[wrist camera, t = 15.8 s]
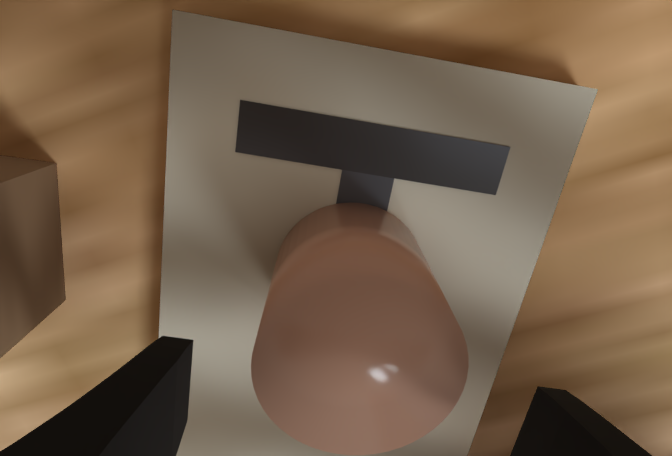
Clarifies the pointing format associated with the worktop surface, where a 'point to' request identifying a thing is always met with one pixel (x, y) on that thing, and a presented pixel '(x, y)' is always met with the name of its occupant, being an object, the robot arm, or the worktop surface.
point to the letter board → (346, 198)
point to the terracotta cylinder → (356, 336)
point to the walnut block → (28, 247)
